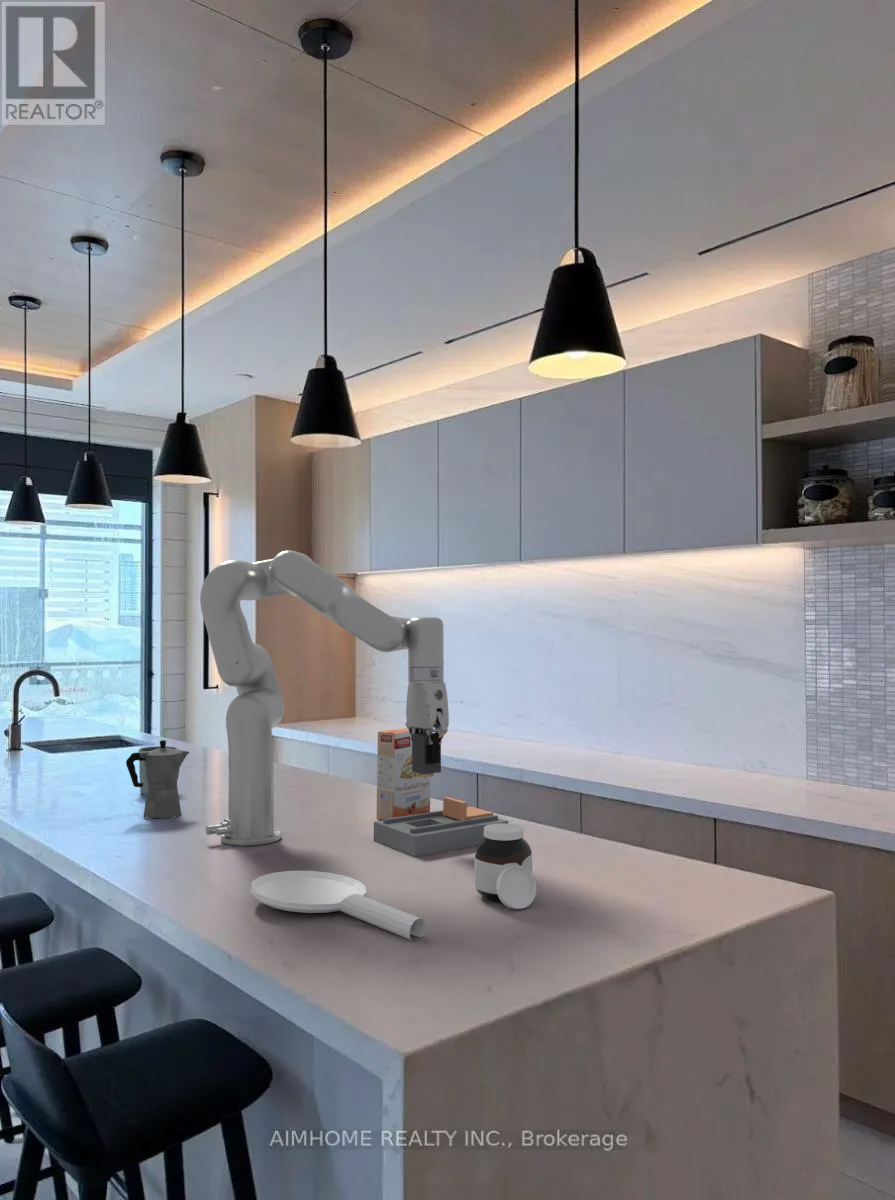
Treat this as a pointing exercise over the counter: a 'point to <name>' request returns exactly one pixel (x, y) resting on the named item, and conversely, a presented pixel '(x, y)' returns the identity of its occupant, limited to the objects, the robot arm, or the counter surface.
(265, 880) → the frying pan
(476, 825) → the socket block
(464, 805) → the tan l-shaped bracket
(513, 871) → the spread jar
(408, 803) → the cracker box
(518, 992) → the counter surface
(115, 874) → the counter surface
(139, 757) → the coffeepot
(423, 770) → the plug
